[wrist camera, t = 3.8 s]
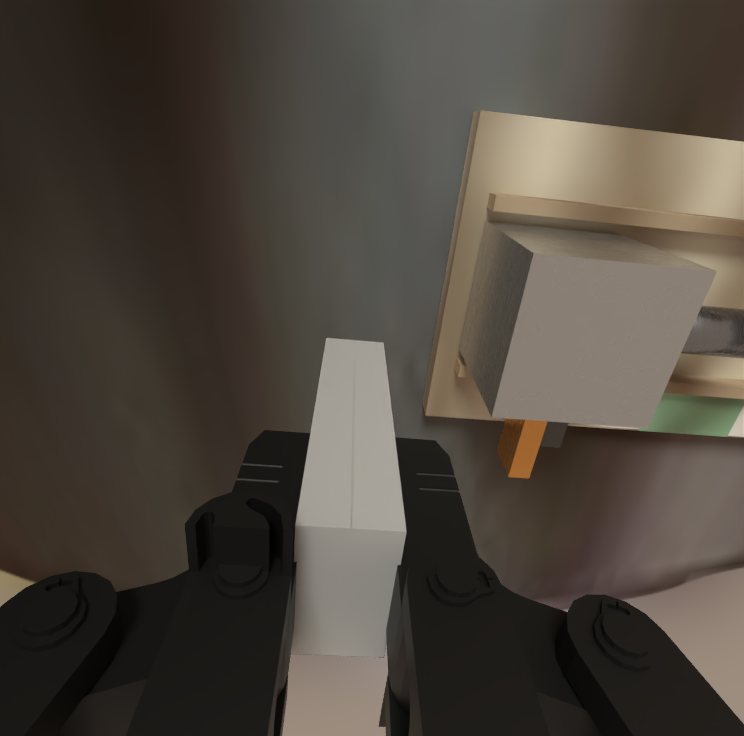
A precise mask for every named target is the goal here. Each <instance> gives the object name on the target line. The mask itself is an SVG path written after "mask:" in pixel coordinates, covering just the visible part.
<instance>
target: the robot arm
mask: <svg viewBox="0 0 744 736" xmlns="http://www.w3.org/2000/svg"><path fill="white" fill-rule="evenodd" d="M458 490H459V489H458V485H457V482H456V478H454V471H453V468H452V464H451V461H450V457H449V455H448V454H447V453H446V452H445V451H444V450H443V449H442V448H441V447H440V445H439V444H438V443H437V442H436V441H435V440H421V439H407V438H395V433H394V425H393V416H392V408H391V400H390V392H389V384H388V375H387V367H386V359H385V351H384V343H382V342H370V341H358V340H346V339H334V338H326V343H325V349H324V355H323V361H322V367H321V373H320V379H319V385H318V391H317V397H316V403H315V409H314V415H313V421H312V427H311V433H298V432H283V431H269V430H265V431H263V432H262V433H261V434H260V435H259V436H258V437H257V438H256V439H255V440H254V441H252V442H251V443H250V444H249V446H248V449H247V452H246V455H245V457H244V460H243V465H242V466H241V468H240V471H239V474H238V477H237V481H236V482H235V485H234V488H233V491H232V493H228V494H225V495H222V496H219V497H216V498H213V499H211V500H209V501H208V502H206V503H205V504H203V505H202V506H201V507H199V508H198V509H196V510H195V511H194V513H193V514H192V515H191V517H190V518H189V519H188V521H187V522H186V523H185V531H186V542H187V552H188V562H189V570H187V571H185V572H183V573H181V574H179V575H177V576H176V577H174V578H171V579H168V580H165V581H162V582H158V583H155V584H151V585H146V586H142V587H137V588H133V589H128V590H124V591H119V592H115V590H114V588H113V586H112V584H111V582H110V581H109V580H107V579H105V578H103V577H101V576H100V575H98V574H96V573H89V572H77V571H74V572H69V573H64V574H59V575H54V576H50V577H48V578H46V579H43V580H41V581H39V582H37V583H35V584H33V585H30V586H28V587H26V588H25V589H23V590H22V591H21V592H19V593H18V594H17V595H15V596H14V597H12V598H11V599H10V600H8V601H7V602H6V603H4V604H3V605H2V606H1V607H0V736H282V731H283V723H284V715H285V706H286V700H287V685H288V669H289V662H290V654H300V655H327V656H351V657H379V658H384V654H385V649H386V643H387V656H388V677H387V682H386V688H385V693H384V698H383V703H382V709H381V715H380V722H379V727H386V736H744V724H743V723H742V722H741V721H740V719H739V718H738V717H737V716H736V715H735V714H734V713H733V711H732V710H731V709H730V708H729V707H728V705H727V704H726V703H725V702H724V701H723V700H722V699H721V697H720V696H719V695H718V694H717V693H716V691H715V690H714V689H713V688H712V687H711V686H710V684H709V683H708V682H707V681H706V680H705V679H704V677H703V676H702V675H701V674H700V673H699V672H698V670H697V669H696V668H695V667H694V666H693V665H692V663H691V662H690V661H689V660H688V659H687V658H686V656H685V655H684V654H683V653H682V652H681V651H680V649H679V648H678V647H677V646H676V645H675V644H674V642H673V641H672V640H671V639H670V638H669V637H668V635H667V634H666V633H665V632H664V631H663V630H662V629H661V628H660V627H659V626H658V625H657V624H656V623H655V622H654V621H653V620H652V619H650V618H649V617H648V616H647V615H646V614H645V613H643V612H641V611H640V610H638V609H637V608H635V607H633V606H631V605H630V604H628V603H627V602H625V601H622V600H619V599H616V598H613V597H610V596H607V595H585V596H583V597H581V598H579V599H577V600H575V601H573V603H572V605H571V607H570V608H569V610H568V612H565V611H562V610H559V609H556V608H553V607H550V606H547V605H545V604H542V603H539V602H536V601H533V600H530V599H527V598H525V597H522V596H520V595H518V594H516V593H513V592H512V591H510V590H509V589H507V588H506V587H504V586H503V585H501V583H500V581H499V579H498V577H497V576H496V574H495V572H494V571H493V570H492V569H491V568H490V567H489V566H488V565H487V564H486V563H485V562H484V561H483V560H482V559H481V558H479V556H478V554H477V551H476V548H475V544H474V541H473V538H472V534H471V531H470V527H469V524H468V520H467V517H466V513H465V510H464V506H463V503H462V499H461V496H460V493H459V492H458Z"/></svg>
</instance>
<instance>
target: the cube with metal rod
mask: <svg viewBox="0 0 744 736" xmlns="http://www.w3.org/2000/svg"><path fill="white" fill-rule="evenodd" d="M716 273H717V271H715V270H713V269H710V268H707V267H705V266H702V265H700V264H697V263H694V262H692V261H689V260H687V259H684V258H681V257H679V256H676V255H673V254H671V253H668V252H666V251H663V250H660V249H658V248H655V247H653V246H650V245H647V244H645V243H642V242H640V241H637V240H634V239H632V238H629V237H627V236H624V235H621V234H613V233H603V232H593V231H584V230H574V229H564V228H554V227H545V226H535V225H525V224H515V223H505V222H496V221H486V220H485V225H484V230H483V235H482V240H481V244H480V249H479V254H478V259H477V264H476V269H475V274H474V279H473V284H472V289H471V293H470V298H469V303H468V308H467V313H466V318H465V323H464V328H463V333H462V338H461V342H460V347H459V350H460V352H461V354H462V356H463V358H464V360H465V363H466V365H467V367H468V369H469V371H470V373H471V375H472V377H473V379H474V381H475V384H476V386H477V388H478V390H479V392H480V394H481V396H482V398H483V400H484V403H485V405H486V407H487V409H488V411H489V413H490V415H491V417H494V418H505V422H504V425H503V429H502V433H501V436H500V440H499V444H498V447H497V453H498V455H499V457H500V460H501V462H502V464H503V466H504V469H505V471H506V473H507V475H508V477H515V478H530V474H531V471H532V468H533V465H534V462H535V459H536V456H537V453H538V450H539V447H540V443H541V440H542V437H543V434H544V431H545V428H546V425H547V422H548V421H550V422H564V423H578V424H592V425H606V426H620V427H634V428H648V427H649V424H650V422H651V420H652V418H653V415H654V413H655V411H656V409H657V406H658V404H659V402H660V400H661V397H662V395H663V393H664V390H665V388H666V386H667V384H668V381H669V379H670V377H671V375H672V372H673V370H674V368H675V366H676V363H677V361H678V359H679V356H680V354H681V353H682V354H694V355H706V356H718V357H730V358H741V359H744V309H735V308H725V307H714V306H703V305H702V304H703V302H704V300H705V298H706V295H707V293H708V291H709V288H710V286H711V284H712V282H713V279H714V277H715V275H716Z"/></svg>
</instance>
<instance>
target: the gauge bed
mask: <svg viewBox="0 0 744 736" xmlns="http://www.w3.org/2000/svg"><path fill="white" fill-rule="evenodd" d="M485 220H486V221H496V222H505V223H515V224H525V225H535V226H545V227H554V228H564V229H574V230H584V231H593V232H603V233H613V234H621V235H624V236H627V237H629V238H632V239H634V240H637V241H640V242H642V243H645V244H647V245H650V246H653V247H655V248H658V249H660V250H663V251H666V252H668V253H671V254H673V255H676V256H679V257H681V258H684V259H687V260H689V261H692V262H694V263H697V264H700V265H702V266H705V267H707V268H710V269H713V270H715V271H717V273H716V275H715V277H714V279H713V282H712V284H711V286H710V288H709V291H708V293H707V295H706V298H705V300H704V302H703V304H702V305H703V306H714V307H725V308H735V309H744V142H740V141H732V140H723V139H715V138H707V137H698V136H690V135H682V134H673V133H665V132H657V131H648V130H640V129H632V128H623V127H615V126H607V125H598V124H590V123H582V122H573V121H565V120H557V119H548V118H540V117H532V116H524V115H515V114H507V113H499V112H490V111H482V110H480V111H474V113H473V118H472V124H471V130H470V135H469V141H468V147H467V152H466V158H465V164H464V170H463V175H462V181H461V187H460V192H459V198H458V204H457V209H456V215H455V221H454V226H453V232H452V238H451V244H450V249H449V255H448V261H447V266H446V272H445V278H444V283H443V289H442V295H441V301H440V306H439V312H438V318H437V323H436V329H435V335H434V340H433V346H432V352H431V358H430V363H429V369H428V375H427V380H426V386H425V392H424V397H423V403H422V404H423V408H424V412H425V416H438V417H452V418H466V419H480V420H495V421H505V418H494V417H491V415H490V413H489V411H488V409H487V407H486V405H485V403H484V400H483V398H482V396H481V394H480V392H479V390H478V388H477V386H476V384H475V381H474V379H473V377H472V375H471V373H470V371H469V369H468V367H467V365H466V363H465V360H464V358H463V356H462V354H461V352H460V350H459V347H460V342H461V338H462V333H463V328H464V323H465V318H466V313H467V308H468V303H469V298H470V293H471V289H472V284H473V279H474V274H475V269H476V264H477V259H478V254H479V249H480V244H481V240H482V235H483V230H484V225H485ZM568 426H580V427H594V428H608V429H622V430H636V431H650V432H665V433H679V434H693V435H707V436H721V437H735V438H744V359H741V358H730V357H718V356H706V355H694V354H682V353H681V354H680V356H679V359H678V361H677V363H676V366H675V368H674V370H673V372H672V375H671V377H670V379H669V381H668V384H667V386H666V388H665V390H664V393H663V395H662V397H661V400H660V402H659V404H658V406H657V409H656V411H655V413H654V415H653V418H652V420H651V422H650V424H649V427H648V428H634V427H620V426H606V425H592V424H578V423H569V424H568Z"/></svg>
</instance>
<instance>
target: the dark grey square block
mask: <svg viewBox="0 0 744 736" xmlns="http://www.w3.org/2000/svg"><path fill="white" fill-rule="evenodd" d="M568 424H569V423H564V422H550V421H548V422H547V425H546V428H545V431H544V434H543V437H542V440H541V443H540V446H542V447H557V448H560V447H561V444H562V441H563V438H564V435H565V432H566V429H567V427H568Z"/></svg>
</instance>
